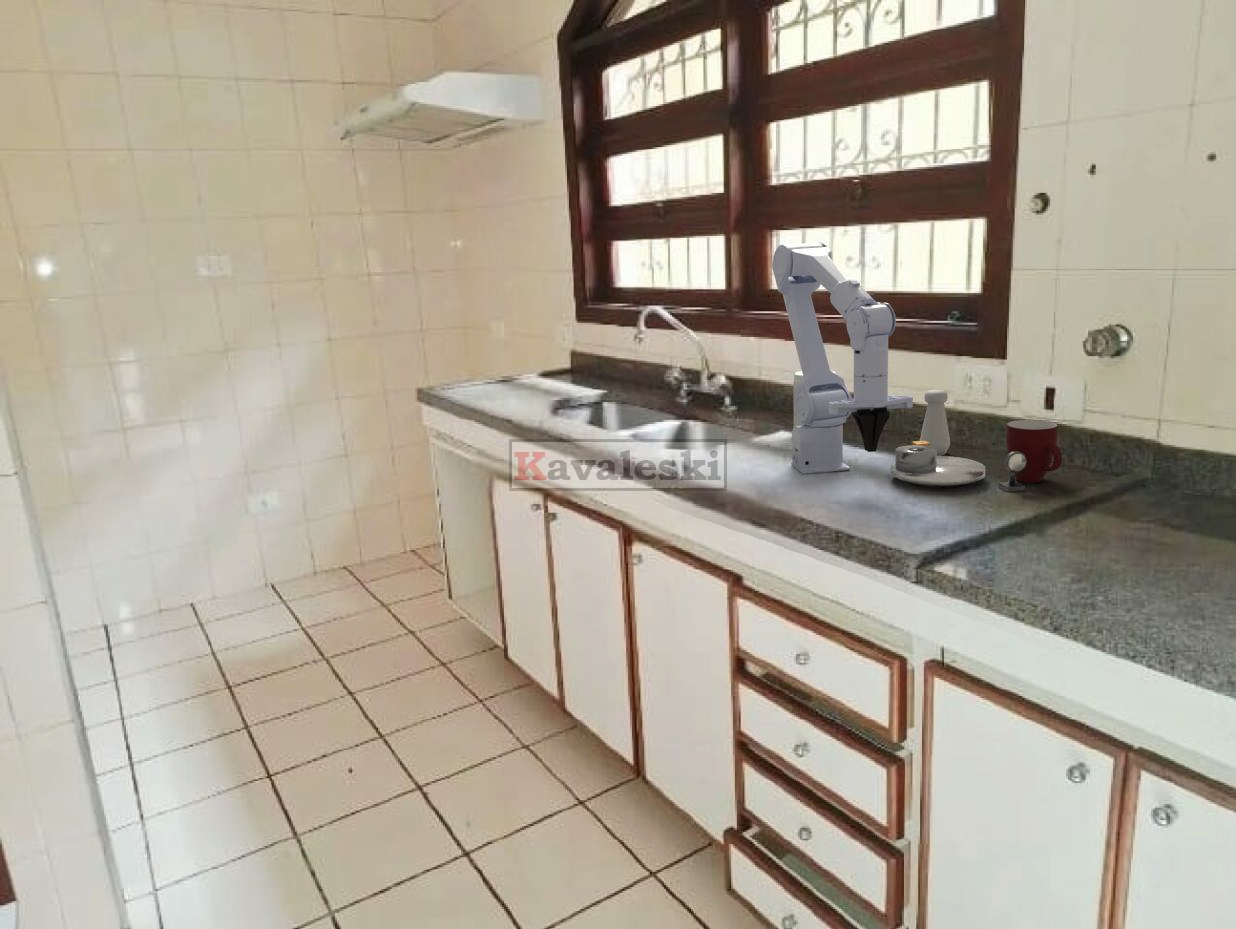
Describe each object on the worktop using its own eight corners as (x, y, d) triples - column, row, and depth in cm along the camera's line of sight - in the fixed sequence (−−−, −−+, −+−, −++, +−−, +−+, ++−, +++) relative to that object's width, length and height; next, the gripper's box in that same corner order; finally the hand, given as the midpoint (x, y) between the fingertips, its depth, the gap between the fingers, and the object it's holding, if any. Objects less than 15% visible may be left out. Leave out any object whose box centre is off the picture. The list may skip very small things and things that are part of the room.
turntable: (913, 488, 143) (913, 465, 142) (876, 466, 159) (877, 444, 158) (1003, 480, 144) (1004, 456, 143) (958, 458, 160) (959, 437, 159)
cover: (905, 475, 147) (905, 455, 146) (889, 465, 154) (889, 446, 153) (943, 471, 148) (944, 451, 147) (925, 462, 155) (926, 443, 154)
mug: (1077, 483, 144) (1081, 426, 142) (1045, 492, 141) (1048, 434, 138) (1025, 471, 153) (1028, 417, 151) (993, 478, 150) (996, 424, 148)
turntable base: (922, 489, 147) (922, 484, 146) (898, 475, 156) (898, 470, 156) (977, 484, 147) (977, 479, 147) (950, 470, 157) (950, 465, 157)
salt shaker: (951, 456, 166) (954, 392, 163) (921, 457, 168) (923, 393, 164) (946, 449, 172) (948, 387, 169) (917, 450, 173) (918, 388, 170)
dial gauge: (1005, 492, 142) (1007, 453, 141) (996, 487, 145) (998, 449, 143) (1026, 490, 142) (1028, 451, 141) (1016, 485, 145) (1018, 447, 144)
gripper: (838, 381, 142) (838, 459, 145) (920, 374, 143) (919, 451, 146) (824, 375, 148) (825, 450, 152) (903, 369, 149) (902, 443, 153)
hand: (870, 450), depth 149 cm, fingers closed
